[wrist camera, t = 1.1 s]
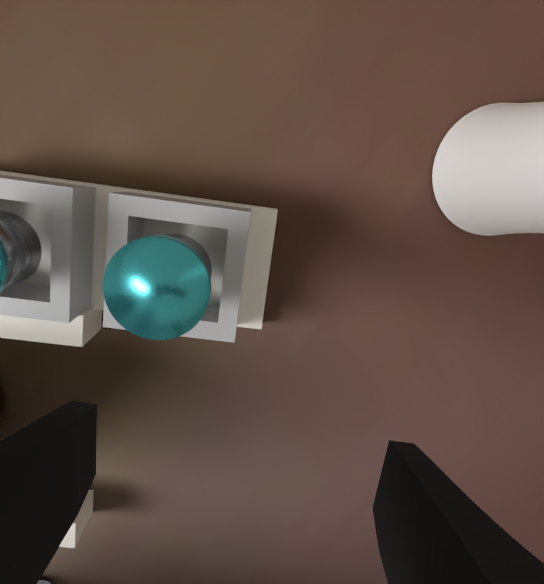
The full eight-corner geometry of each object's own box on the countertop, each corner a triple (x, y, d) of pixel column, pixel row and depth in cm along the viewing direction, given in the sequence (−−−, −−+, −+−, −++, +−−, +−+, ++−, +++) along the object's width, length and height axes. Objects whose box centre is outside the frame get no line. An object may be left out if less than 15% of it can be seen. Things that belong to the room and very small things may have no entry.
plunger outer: (214, 315, 19) (204, 345, 15) (129, 305, 19) (100, 333, 15) (223, 232, 18) (215, 244, 15) (135, 220, 18) (104, 230, 14)
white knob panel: (233, 525, 25) (229, 578, 22) (-149, 490, 24) (-215, 540, 21) (277, 208, 21) (280, 213, 18) (-185, 145, 20) (-277, 137, 16)
